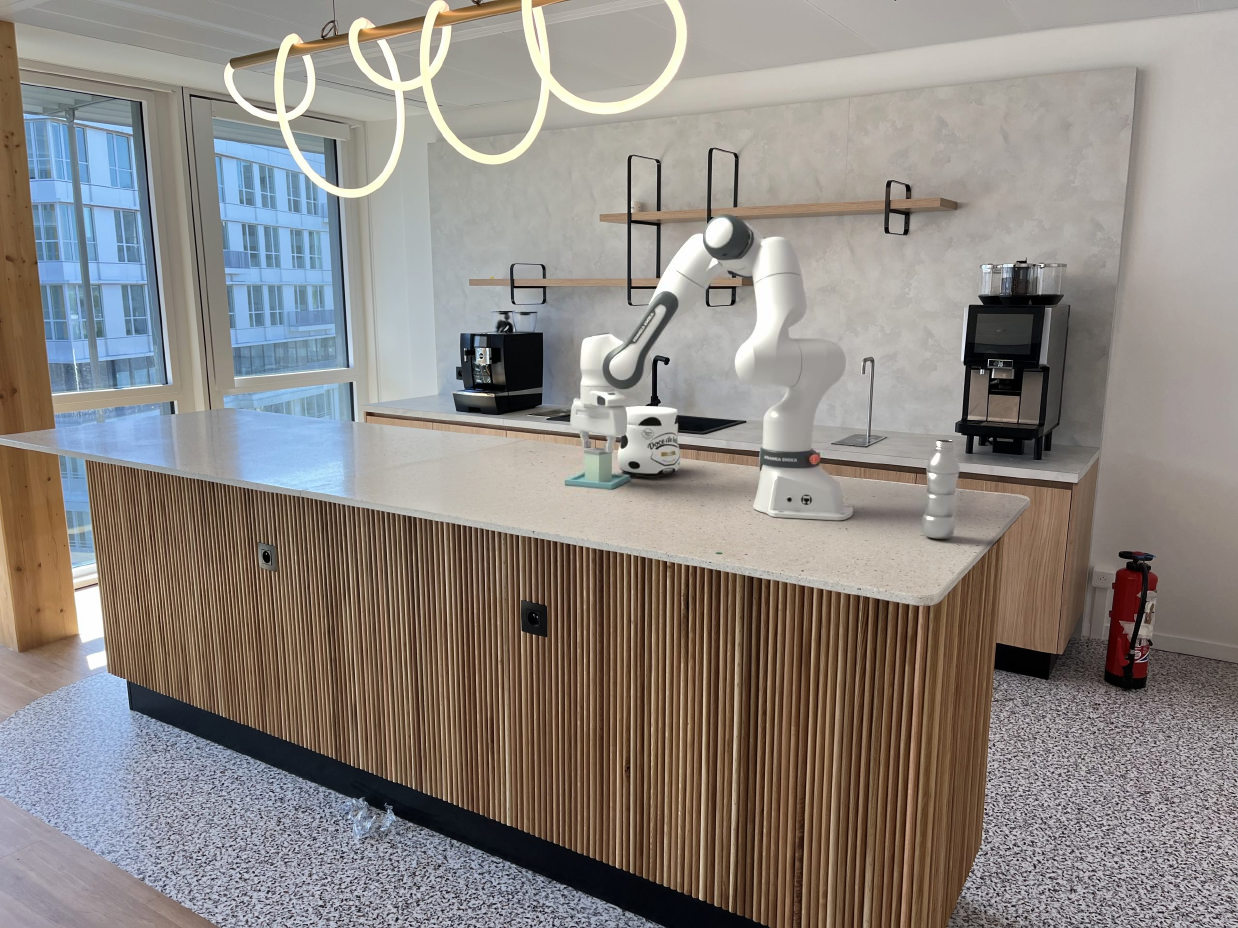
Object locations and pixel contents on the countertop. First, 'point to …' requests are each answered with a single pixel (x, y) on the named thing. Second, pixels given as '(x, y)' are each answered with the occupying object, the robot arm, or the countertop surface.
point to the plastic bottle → (941, 491)
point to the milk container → (650, 442)
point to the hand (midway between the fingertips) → (597, 450)
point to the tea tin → (598, 465)
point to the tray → (580, 481)
